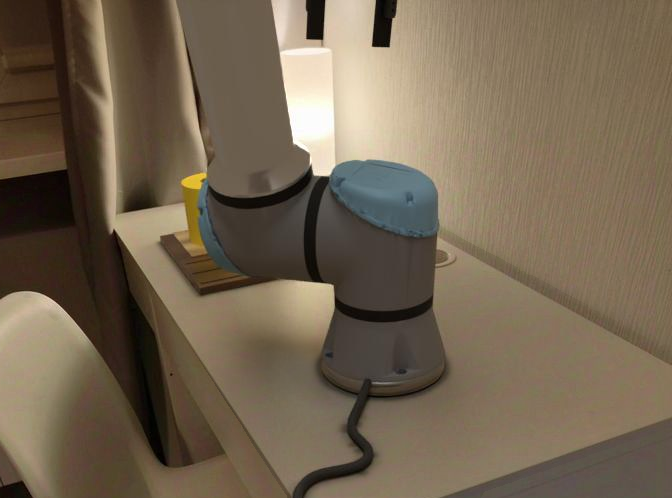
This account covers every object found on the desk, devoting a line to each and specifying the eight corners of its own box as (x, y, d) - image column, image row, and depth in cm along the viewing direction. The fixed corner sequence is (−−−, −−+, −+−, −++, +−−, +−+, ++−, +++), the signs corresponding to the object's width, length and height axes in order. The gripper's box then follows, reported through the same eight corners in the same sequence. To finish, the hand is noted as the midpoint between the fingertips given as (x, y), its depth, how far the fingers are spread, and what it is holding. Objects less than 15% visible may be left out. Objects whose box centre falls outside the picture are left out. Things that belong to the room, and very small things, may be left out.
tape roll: (219, 222, 132) (212, 168, 126) (258, 233, 127) (253, 177, 121) (177, 239, 126) (168, 183, 121) (217, 250, 121) (209, 192, 115)
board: (303, 273, 115) (303, 265, 114) (200, 295, 110) (199, 286, 110) (250, 225, 134) (249, 218, 134) (160, 242, 130) (159, 234, 129)
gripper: (457, -161, 84) (430, 51, 96) (317, -143, 100) (309, 37, 111) (413, -173, 80) (391, 50, 92) (274, -153, 95) (270, 36, 107)
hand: (346, 43), depth 101 cm, fingers open, 13 cm apart
